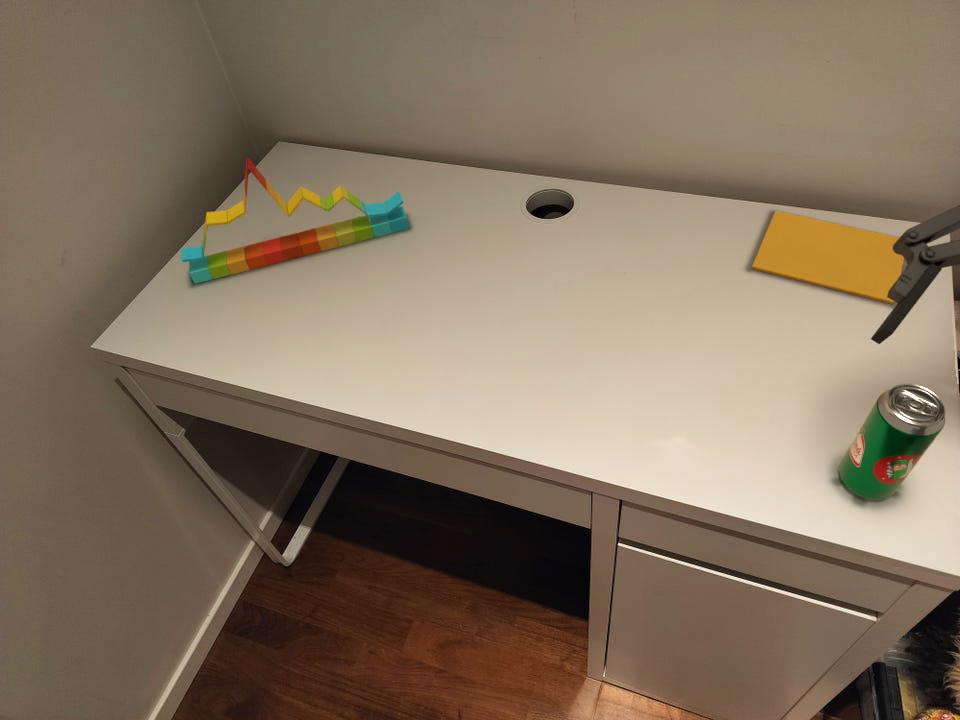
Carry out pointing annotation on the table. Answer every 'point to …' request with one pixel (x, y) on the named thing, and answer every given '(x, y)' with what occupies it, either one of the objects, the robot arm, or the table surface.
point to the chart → (298, 242)
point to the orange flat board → (830, 256)
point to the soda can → (892, 440)
